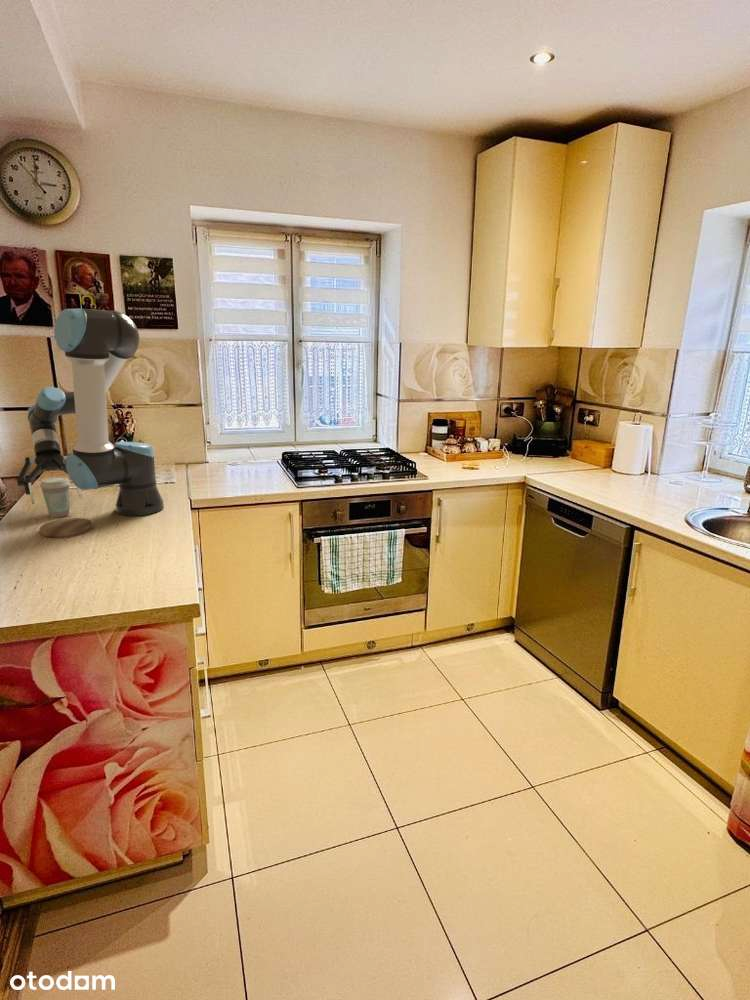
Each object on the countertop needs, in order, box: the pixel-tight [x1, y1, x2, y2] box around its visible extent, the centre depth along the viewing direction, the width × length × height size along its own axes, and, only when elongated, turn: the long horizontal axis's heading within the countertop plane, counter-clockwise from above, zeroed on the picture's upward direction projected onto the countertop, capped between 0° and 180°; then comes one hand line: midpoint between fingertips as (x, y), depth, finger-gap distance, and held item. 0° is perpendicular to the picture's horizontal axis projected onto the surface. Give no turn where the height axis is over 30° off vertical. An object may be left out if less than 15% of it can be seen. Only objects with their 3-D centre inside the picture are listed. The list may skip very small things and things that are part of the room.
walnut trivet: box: [39, 517, 93, 539], centre depth 169 cm, size 14×14×2 cm
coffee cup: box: [40, 476, 71, 518], centre depth 182 cm, size 9×9×12 cm
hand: (57, 499), depth 180 cm, fingers open, 13 cm apart
